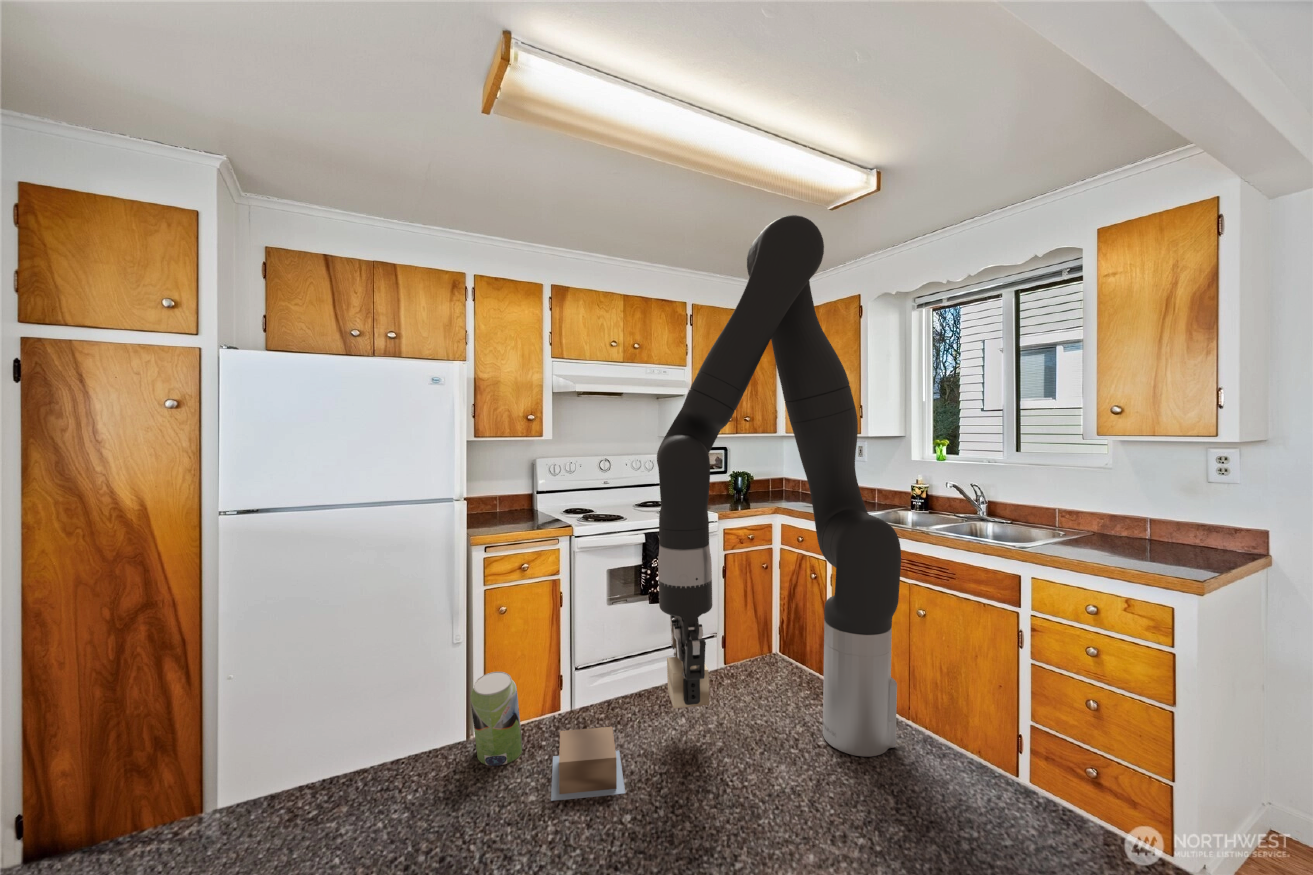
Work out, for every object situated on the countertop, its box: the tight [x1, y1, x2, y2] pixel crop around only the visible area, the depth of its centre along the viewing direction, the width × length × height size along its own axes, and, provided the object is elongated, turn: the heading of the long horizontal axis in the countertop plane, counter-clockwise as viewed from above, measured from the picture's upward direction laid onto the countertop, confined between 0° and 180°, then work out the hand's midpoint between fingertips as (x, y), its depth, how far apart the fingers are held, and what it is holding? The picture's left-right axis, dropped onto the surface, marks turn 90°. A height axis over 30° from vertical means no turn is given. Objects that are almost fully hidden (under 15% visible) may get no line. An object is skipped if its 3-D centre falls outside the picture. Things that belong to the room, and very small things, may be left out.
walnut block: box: [558, 726, 617, 794], centre depth 75 cm, size 7×7×4 cm
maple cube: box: [666, 656, 710, 709], centre depth 82 cm, size 5×5×5 cm
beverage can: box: [469, 671, 524, 767], centre depth 79 cm, size 6×7×12 cm
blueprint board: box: [550, 749, 626, 802], centre depth 75 cm, size 16×12×1 cm
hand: (687, 692), depth 83 cm, fingers closed on maple cube, 5 cm apart
